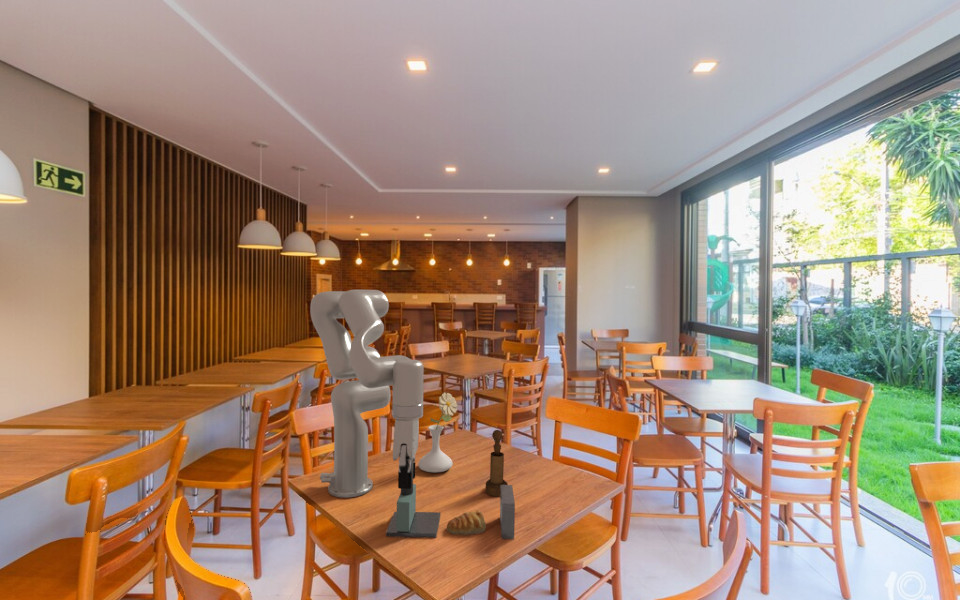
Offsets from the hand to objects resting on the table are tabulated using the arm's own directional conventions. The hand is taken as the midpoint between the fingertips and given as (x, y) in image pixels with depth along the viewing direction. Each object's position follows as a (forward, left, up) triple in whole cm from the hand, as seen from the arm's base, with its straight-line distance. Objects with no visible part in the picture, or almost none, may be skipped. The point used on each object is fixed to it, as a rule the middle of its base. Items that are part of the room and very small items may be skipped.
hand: (406, 482), depth 109 cm
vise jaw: (0, 0, -10) cm, 10 cm away
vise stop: (+25, 0, -11) cm, 27 cm away
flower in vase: (+4, +36, -11) cm, 38 cm away
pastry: (+15, -1, -11) cm, 19 cm away
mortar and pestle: (+23, +20, -11) cm, 32 cm away
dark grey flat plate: (+2, 0, -11) cm, 11 cm away
